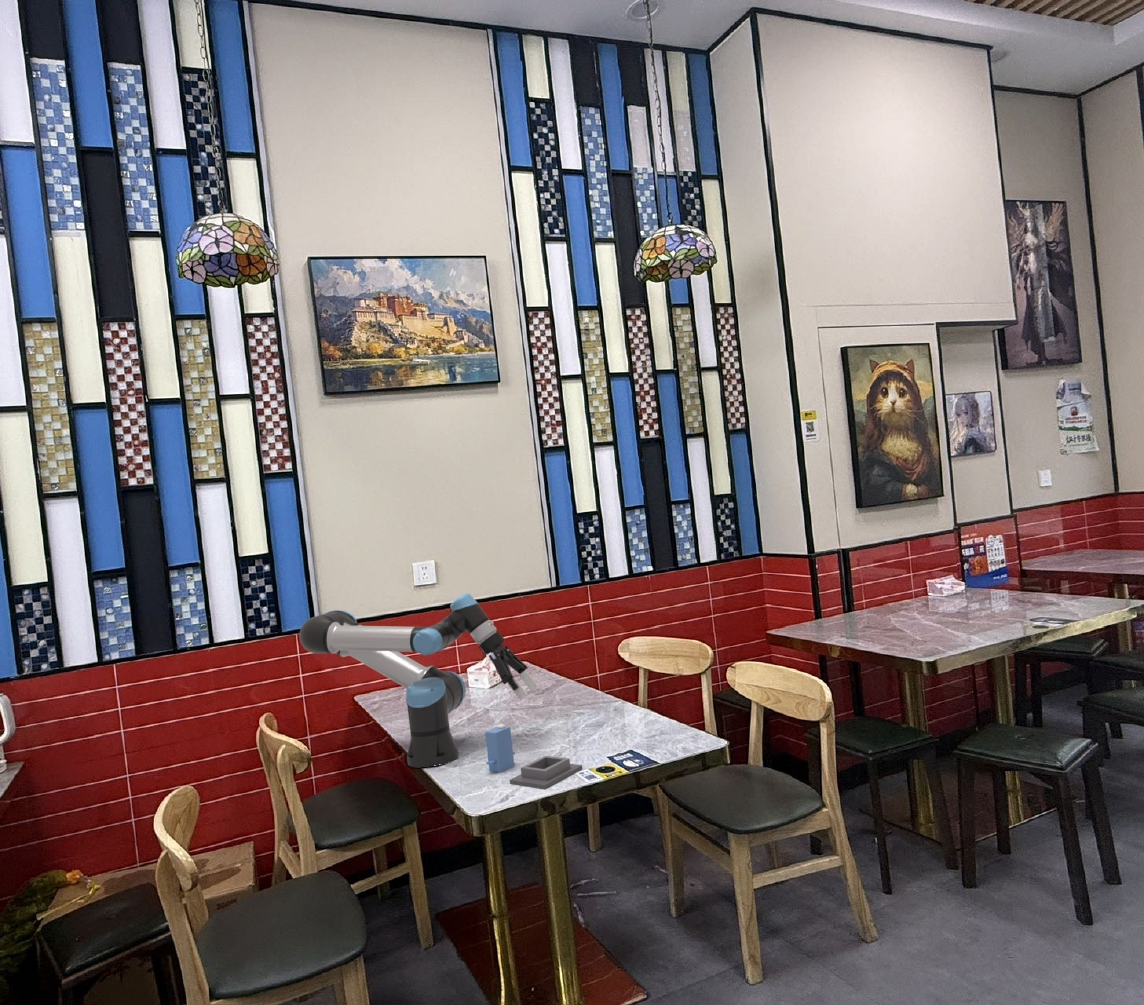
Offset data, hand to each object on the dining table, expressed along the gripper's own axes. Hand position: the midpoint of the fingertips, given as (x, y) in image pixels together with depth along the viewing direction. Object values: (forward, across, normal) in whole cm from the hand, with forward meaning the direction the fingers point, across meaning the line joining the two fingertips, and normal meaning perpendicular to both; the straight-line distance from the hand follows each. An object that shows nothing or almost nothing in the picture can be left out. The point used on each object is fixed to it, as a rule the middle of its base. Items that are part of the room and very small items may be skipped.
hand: (529, 693), depth 255 cm
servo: (+12, -22, +12) cm, 28 cm away
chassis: (+20, -31, 0) cm, 37 cm away
